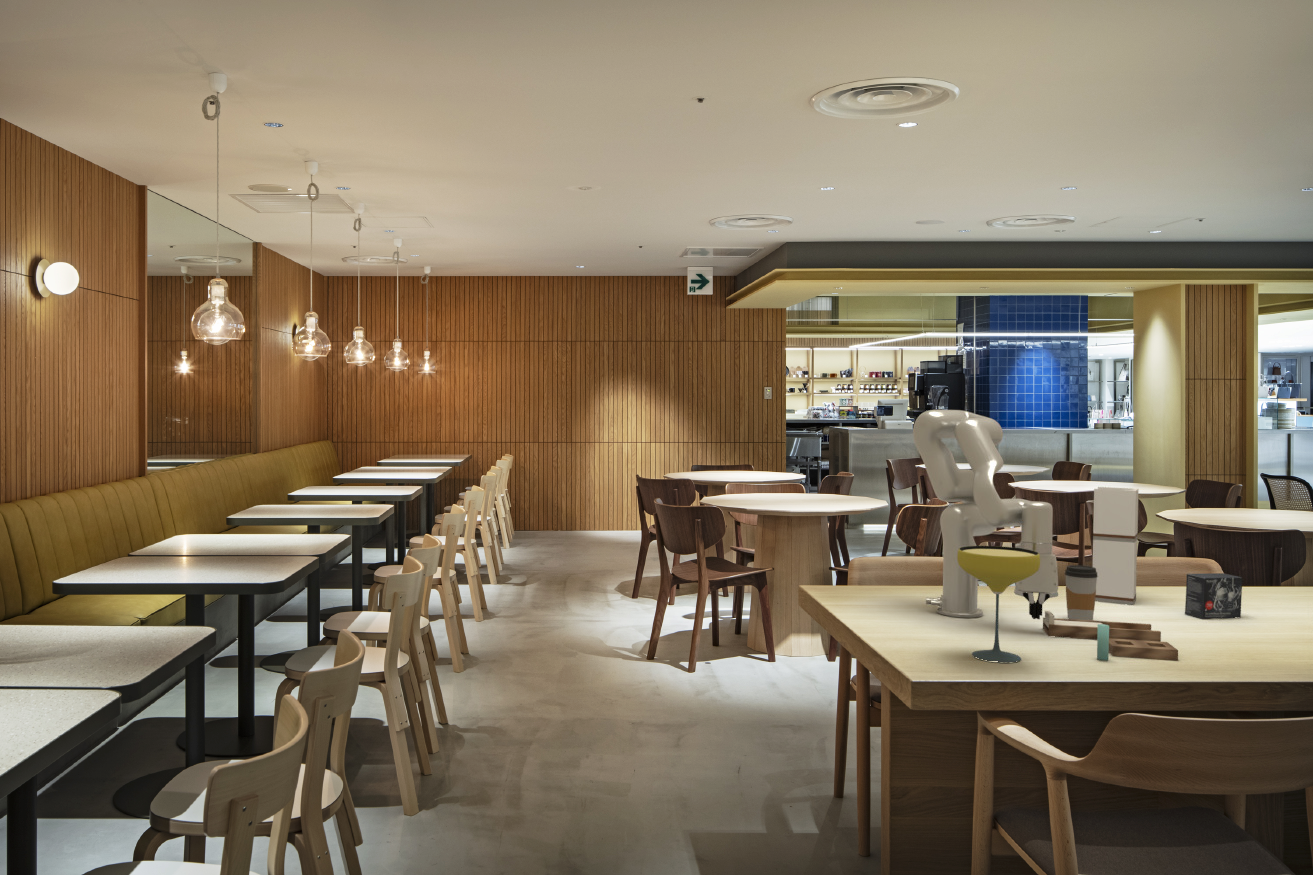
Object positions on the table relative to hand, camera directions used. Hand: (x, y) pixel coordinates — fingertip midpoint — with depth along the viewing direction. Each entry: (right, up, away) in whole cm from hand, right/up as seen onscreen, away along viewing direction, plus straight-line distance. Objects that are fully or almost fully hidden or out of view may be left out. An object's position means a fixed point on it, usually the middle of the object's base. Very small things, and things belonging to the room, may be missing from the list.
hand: (1035, 617), depth 234 cm
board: (+15, -4, -4) cm, 16 cm away
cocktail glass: (-20, -4, -26) cm, 33 cm away
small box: (+61, -4, +22) cm, 65 cm away
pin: (+4, -4, -27) cm, 27 cm away
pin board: (+16, -4, -21) cm, 27 cm away
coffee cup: (+19, -4, +14) cm, 24 cm away
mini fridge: (+43, -4, +44) cm, 62 cm away
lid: (+9, -2, -2) cm, 10 cm away
